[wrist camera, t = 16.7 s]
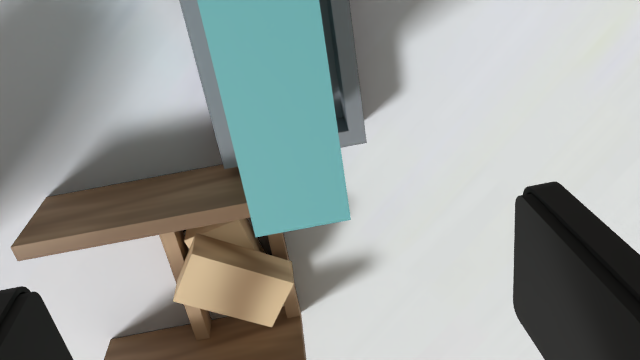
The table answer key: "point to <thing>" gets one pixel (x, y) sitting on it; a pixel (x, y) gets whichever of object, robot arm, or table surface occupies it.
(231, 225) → the offcut lower
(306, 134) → the teal sheet
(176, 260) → the offcut rack
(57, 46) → the table surface
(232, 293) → the offcut upper
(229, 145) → the charcoal tray
